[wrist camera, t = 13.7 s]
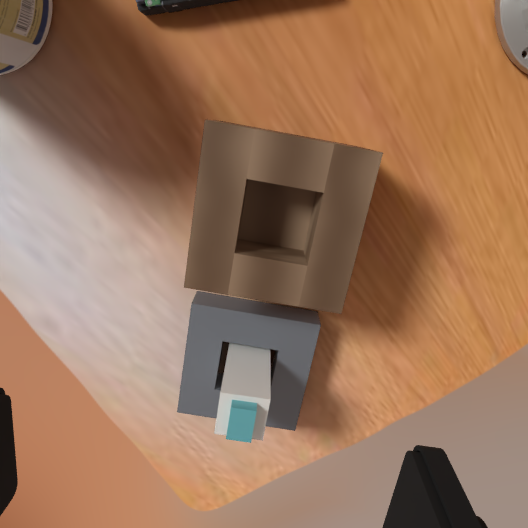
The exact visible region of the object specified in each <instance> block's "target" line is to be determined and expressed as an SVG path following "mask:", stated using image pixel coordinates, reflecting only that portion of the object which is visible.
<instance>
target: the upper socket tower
mask: <svg viewBox="0 0 528 528" xmlns="http://www.w3.org/2000/svg"><path fill="white" fill-rule="evenodd" d="M382 154H383V153H382V152H378V151H374V150H370V149H365V148H361V147H357V146H352V145H347V144H341V143H336V142H331V141H325V140H320V139H315V138H309V137H304V136H298V135H293V134H288V133H282V132H277V131H272V130H266V129H261V128H256V127H250V126H245V125H239V124H234V123H229V122H223V121H215V120H205V124H204V132H203V140H202V148H201V156H200V164H199V172H198V180H197V187H196V195H195V203H194V211H193V219H192V227H191V235H190V243H189V251H188V259H187V267H186V275H185V283H184V287H185V288H191V289H196V290H202V291H208V292H214V293H220V294H226V295H232V296H238V297H244V298H250V299H256V300H262V301H268V302H273V303H279V304H285V305H291V306H297V307H303V308H309V309H315V310H321V311H327V312H333V313H339V314H341V313H342V309H343V306H344V302H345V298H346V294H347V290H348V286H349V282H350V278H351V275H352V271H353V267H354V263H355V259H356V255H357V251H358V247H359V244H360V240H361V236H362V232H363V228H364V224H365V220H366V216H367V213H368V209H369V205H370V201H371V197H372V193H373V189H374V185H375V182H376V178H377V174H378V170H379V166H380V162H381V158H382Z"/></svg>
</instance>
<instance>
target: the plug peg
mask: <svg viewBox="0 0 528 528" xmlns="http://www.w3.org/2000/svg"><path fill="white" fill-rule="evenodd" d="M270 400H271V363H270V349H267V348H261V347H255V346H248V345H242V344H236V343H229V348H228V354H227V359H226V364H225V370H224V375H223V380H222V386H221V391H220V398H219V404H218V411H217V418H216V425H215V432H214V434H220V435H226V439H229V440H236V441H243V442H250V443H251V440H252V439H256V440H263V436H264V431H265V426H266V421H267V415H268V410H269V405H270Z"/></svg>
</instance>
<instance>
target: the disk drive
mask: <svg viewBox="0 0 528 528" xmlns="http://www.w3.org/2000/svg"><path fill="white" fill-rule="evenodd" d="M231 1H237V0H136V2H137V6H138V10H139V11H140V12H142V13H143V14H144V15H146V16H148V15H154V14H160V13H166V12H169V13H170V12H175V11H182V10H184V9H190V8H196V7H201V6H208V5H213V4H219V3H226V2H231Z"/></svg>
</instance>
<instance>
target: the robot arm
mask: <svg viewBox="0 0 528 528" xmlns="http://www.w3.org/2000/svg"><path fill="white" fill-rule="evenodd" d="M495 22H496V28H497V34H498V37H499V39H500V42H501V45H502V47H503V49H504V51H505V52H506V54H507V55H508V57H509V58H510V60H511V61H512V62H513V63H514V64H515V65H516V66H517V67H518V68H519V69H520V70H521V71H523V72H525V73H526V74H528V0H495ZM522 52H523V53H524V56H523V57H522ZM16 489H17V469H16V456H15V444H14V432H13V420H12V408H11V399H10V397H9V396H8V395H5V391H4V390H3V388H0V515H1V514H2V513H3V511H4V510H5V508H6V507H7V506H8V504H9V503H10V501H11V500H12V498H13V496H14V494H15V492H16ZM383 528H488V527H487V526H486V524H485V523H484V521H483V520H482V519H481V518H480V517H478V516H476V515H475V513H474V511H473V509H472V506H471V504H470V503H469V500H468V498H467V496H466V494H465V492H464V490H463V488H462V486H461V484H460V482H459V480H458V478H457V476H456V474H455V472H454V469H453V467H452V465H451V464H450V461H449V460H448V457H447V455H446V453H445V452H444V450H443V449H441V448H435V447H427V446H420V445H417V446H415V447H414V450H413V451H407V452H406V455H405V458H404V461H403V464H402V467H401V471H400V474H399V477H398V480H397V483H396V486H395V489H394V493H393V496H392V499H391V503H390V505H389V509H388V512H387V515H386V518H385V521H384V525H383Z"/></svg>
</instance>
